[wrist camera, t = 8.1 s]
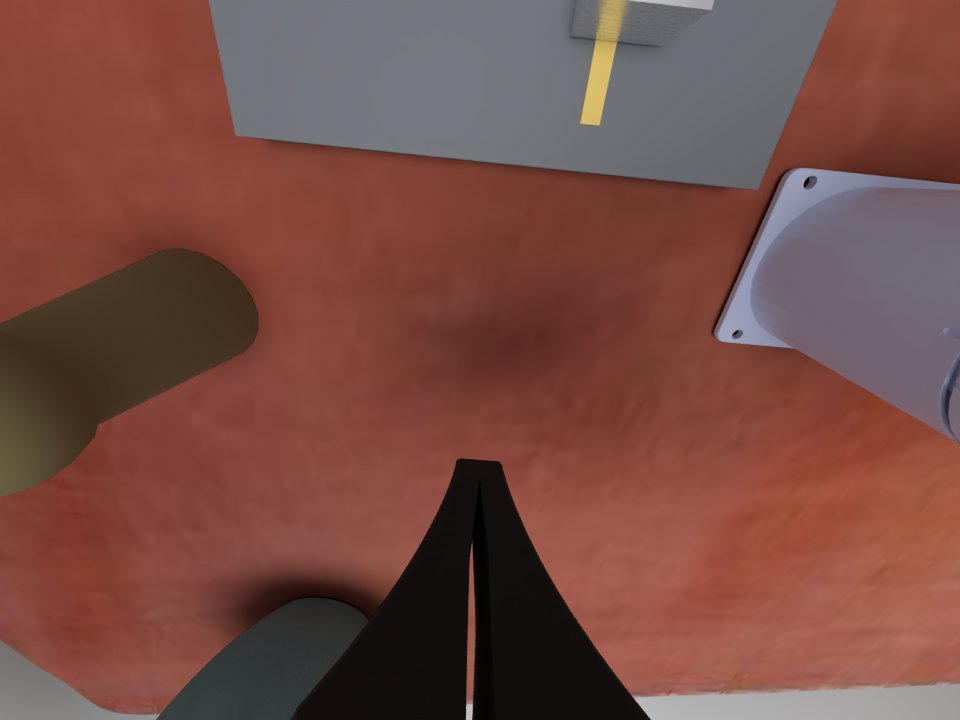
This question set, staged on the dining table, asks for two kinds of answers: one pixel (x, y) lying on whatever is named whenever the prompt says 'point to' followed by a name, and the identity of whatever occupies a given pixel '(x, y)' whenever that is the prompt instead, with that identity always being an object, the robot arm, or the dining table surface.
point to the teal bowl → (270, 664)
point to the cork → (111, 355)
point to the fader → (636, 19)
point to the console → (521, 83)
